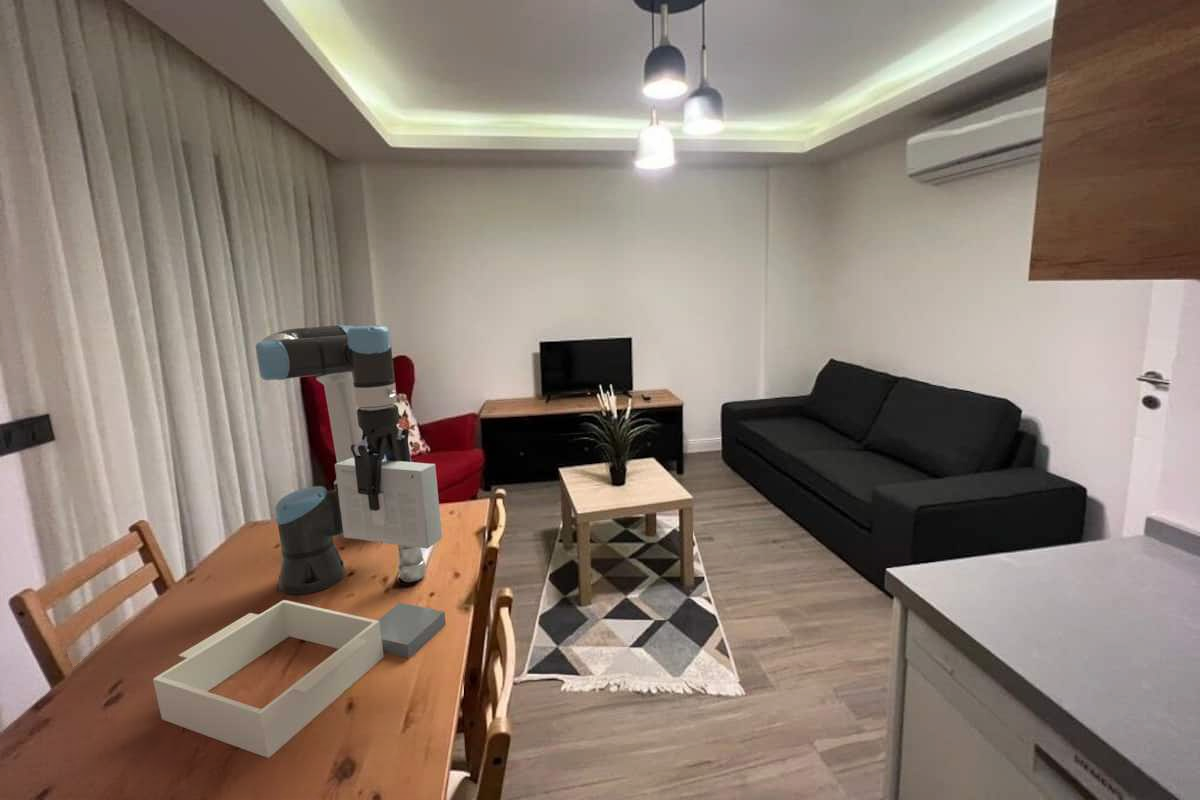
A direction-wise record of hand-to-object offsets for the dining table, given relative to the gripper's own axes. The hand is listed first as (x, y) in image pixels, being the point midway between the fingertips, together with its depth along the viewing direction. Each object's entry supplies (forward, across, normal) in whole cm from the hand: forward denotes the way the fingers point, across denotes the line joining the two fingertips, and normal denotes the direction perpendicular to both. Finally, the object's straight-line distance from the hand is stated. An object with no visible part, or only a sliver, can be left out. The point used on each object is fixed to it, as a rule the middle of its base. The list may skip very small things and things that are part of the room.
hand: (390, 517), depth 112 cm
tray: (+27, -20, +12) cm, 35 cm away
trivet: (+27, 0, 0) cm, 27 cm away
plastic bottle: (+27, +20, +14) cm, 36 cm away
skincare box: (+5, 0, 0) cm, 5 cm away
